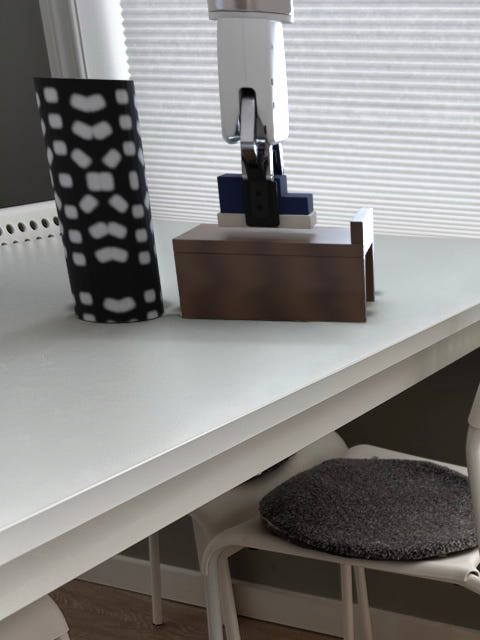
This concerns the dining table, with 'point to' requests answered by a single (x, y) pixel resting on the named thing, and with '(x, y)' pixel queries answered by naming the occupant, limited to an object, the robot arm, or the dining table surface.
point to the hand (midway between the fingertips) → (267, 221)
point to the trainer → (292, 206)
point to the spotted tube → (101, 197)
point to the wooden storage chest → (277, 272)
